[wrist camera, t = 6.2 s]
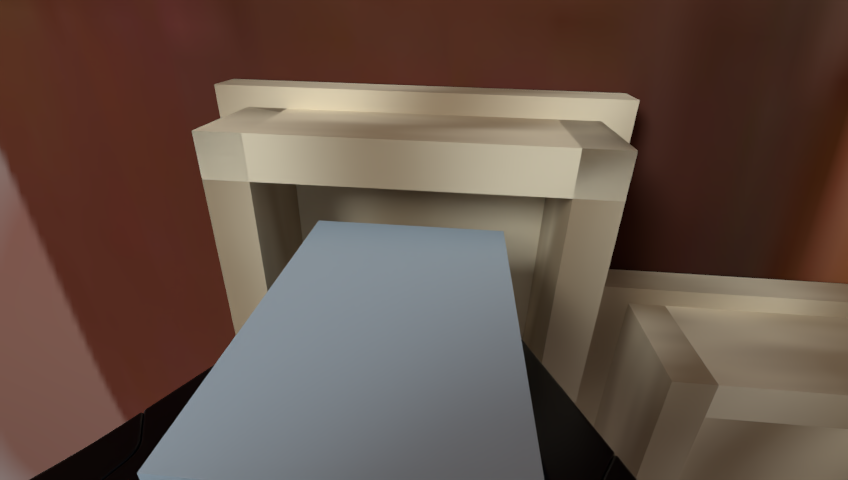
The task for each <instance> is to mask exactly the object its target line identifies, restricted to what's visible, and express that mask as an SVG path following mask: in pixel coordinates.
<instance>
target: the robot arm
mask: <svg viewBox="0 0 848 480" xmlns="http://www.w3.org/2000/svg"><path fill="white" fill-rule="evenodd" d="M521 341H522V347H523V353H524V359H525V365H526V371H527V377H528V383H529V389H530V395H531V401H532V408H533V414H534V420H535V426H536V432H537V438H538V444H539V450H540V456H541V462H542V468H543V474H544V480H637V479H636V478H635V476H634V475H633V474H632V473H631V472H630V470H629V469H628V468H627V467H626V466H625V464H624V463H623V462H622V461H621V459H620V458H619V457H618V456H614V455H615V453H614V451H613V450H612V449H611V447H610V446H609V445H608V444H607V443H606V441H605V440H604V439H603V438H602V436H601V435H600V434H599V433H598V432H597V430H596V429H595V428H594V427H593V425H592V424H591V423H590V422H589V421H588V419H587V418H586V417H585V416H584V414H583V413H582V412H581V411H580V410H579V408H578V407H577V406H576V405H575V403H574V402H573V401H572V400H571V399H570V397H569V396H568V395H567V394H566V392H565V391H564V390H563V389H562V387H561V386H560V385H559V384H558V383H557V381H556V380H555V379H554V378H553V376H552V375H551V374H550V373H549V372H548V370H547V369H546V368H545V367H544V365H543V364H542V363H541V362H540V361H539V359H538V358H537V357H536V356H535V354H534V353H533V352H532V351H531V350H530V348H529V347H528V346H527V345H526V343H525V342H524V341H523V340H522V339H521ZM213 367H214V365H213V366H212V367H210V368H209V369H207V370H206V371H204V372H203V373H201V374H200V375H198V376H196V377H195V378H193V379H192V380H190V381H189V382H187V383H186V384H184V385H183V386H181V387H180V388H178V389H176V390H175V391H173V392H172V393H170V394H169V395H167V396H166V397H164V398H163V399H161V400H160V401H158V402H156V403H155V404H153V405H152V406H150V407H149V408H147V409H146V410H145V411H144V413H139V414H138V415H136V416H135V417H133V418H132V419H130V420H129V421H127V422H125V423H124V424H122V425H121V426H119V427H118V428H116V429H114V430H113V431H111V432H110V433H108V434H107V435H105V436H103V437H102V438H100V439H99V440H97V441H95V442H94V443H92V444H90V445H89V446H87V447H85V448H84V449H82V450H80V451H79V452H77V453H76V454H73V455H72V456H70V457H68V458H67V459H65V460H63V461H61V462H60V463H58V464H56V465H55V466H53V467H51V468H49V469H48V470H46V471H44V472H42V473H40V474H39V475H37V476H35V477H34V478H32V479H30V480H140V479H139V477H138V475H137V472H138V471H139V469H140V468H141V467H142V465H143V464H144V462H145V461H146V460H147V458H148V457H149V455H150V454H151V453H152V451H153V450H154V449H155V447H156V446H157V444H158V443H159V442H160V440H161V439H162V437H163V436H164V435H165V433H166V432H167V431H168V429H169V428H170V426H171V425H172V424H173V422H174V421H175V419H176V418H177V417H178V415H179V414H180V412H181V411H182V410H183V408H184V407H185V406H186V404H187V403H188V401H189V400H190V399H191V397H192V396H193V394H194V393H195V392H196V390H197V389H198V387H199V386H200V385H201V383H202V382H203V381H204V379H205V378H206V376H207V375H208V374H209V372H210V371H211V369H212V368H213Z"/></svg>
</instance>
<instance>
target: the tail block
mask: <svg viewBox="0 0 848 480" xmlns="http://www.w3.org/2000/svg"><path fill="white" fill-rule="evenodd" d="M137 475H138V477H139V479H140V480H544V474H543V468H542V462H541V456H540V450H539V444H538V438H537V432H536V426H535V420H534V414H533V408H532V401H531V395H530V389H529V383H528V377H527V371H526V365H525V359H524V353H523V347H522V341H521V334H520V328H519V322H518V316H517V310H516V304H515V298H514V292H513V286H512V280H511V274H510V268H509V261H508V255H507V249H506V243H505V237H504V231H493V230H475V229H458V228H441V227H424V226H406V225H389V224H372V223H355V222H337V221H320V220H319V221H318V222H317V224H316V225H315V226H314V228H313V229H312V231H311V232H310V233H309V235H308V236H307V238H306V239H305V240H304V242H303V243H302V244H301V246H300V247H299V249H298V250H297V251H296V253H295V254H294V256H293V257H292V258H291V260H290V261H289V263H288V264H287V265H286V267H285V268H284V269H283V271H282V272H281V274H280V275H279V276H278V278H277V279H276V281H275V282H274V283H273V285H272V286H271V287H270V289H269V290H268V292H267V293H266V294H265V296H264V297H263V299H262V300H261V301H260V303H259V304H258V306H257V307H256V308H255V310H254V311H253V312H252V314H251V315H250V317H249V318H248V319H247V321H246V322H245V324H244V325H243V326H242V328H241V329H240V331H239V332H238V333H237V335H236V336H235V337H234V339H233V340H232V342H231V343H230V344H229V346H228V347H227V349H226V350H225V351H224V353H223V354H222V356H221V357H220V358H219V360H218V361H217V362H216V364H215V365H214V367H213V368H212V369H211V371H210V372H209V374H208V375H207V376H206V378H205V379H204V381H203V382H202V383H201V385H200V386H199V387H198V389H197V390H196V392H195V393H194V394H193V396H192V397H191V399H190V400H189V401H188V403H187V404H186V406H185V407H184V408H183V410H182V411H181V412H180V414H179V415H178V417H177V418H176V419H175V421H174V422H173V424H172V425H171V426H170V428H169V429H168V431H167V432H166V433H165V435H164V436H163V437H162V439H161V440H160V442H159V443H158V444H157V446H156V447H155V449H154V450H153V451H152V453H151V454H150V455H149V457H148V458H147V460H146V461H145V462H144V464H143V465H142V467H141V468H140V469H139V471H138V472H137Z"/></svg>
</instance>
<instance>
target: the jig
mask: <svg viewBox="0 0 848 480" xmlns="http://www.w3.org/2000/svg"><path fill="white" fill-rule="evenodd" d="M214 85H215V91H216V96H217V102H218V107H219V113H220V119H218V120H216V121H213V122H211V123H209V124H206V125H204V126H202V127H199V128H197V129H195V130H192V135H193V139H194V144H195V149H196V153H197V158H198V162H199V167H200V172H201V176H202V181H203V186H204V190H205V195H206V199H207V204H208V209H209V213H210V218H211V223H212V227H213V232H214V236H215V241H216V246H217V250H218V255H219V260H220V264H221V269H222V273H223V278H224V283H225V287H226V292H227V297H228V301H229V306H230V310H231V315H232V320H233V324H234V329H235V334H236V335H237V333H238V332H239V331H240V329H241V328H242V326H243V325H244V324H245V322H246V321H247V319H248V318H249V317H250V315H251V314H252V312H253V311H254V310H255V308H256V307H257V306H258V304H259V303H260V301H261V300H262V299H263V297H264V296H265V294H266V293H267V292H268V290H269V289H270V287H271V286H272V285H273V283H274V282H275V281H276V279H277V278H278V276H279V275H280V274H281V272H282V271H283V269H284V268H285V267H286V265H287V264H288V263H289V261H290V260H291V258H292V257H293V256H294V254H295V253H296V251H297V250H298V249H299V247H300V246H301V244H302V243H303V242H304V240H305V239H306V238H307V236H308V235H309V233H310V232H311V231H312V229H313V228H314V226H315V225H316V224H317V222H318V221H319V220H320V221H337V222H355V223H372V224H389V225H406V226H424V227H441V228H458V229H475V230H493V231H504V237H505V243H506V249H507V255H508V261H509V268H510V274H511V280H512V286H513V292H514V298H515V304H516V310H517V316H518V322H519V328H520V334H521V339H522V340H523V341H524V342H525V343H526V345H527V346H528V347H529V348H530V350H531V351H532V352H533V353H534V354H535V356H536V357H537V358H538V359H539V361H540V362H541V363H542V364H543V365H544V367H545V368H546V369H547V370H548V372H549V373H550V374H551V375H552V376H553V378H554V379H555V380H556V381H557V383H558V384H559V385H560V386H561V387H562V389H563V390H564V391H565V392H566V394H567V395H568V396H569V397H570V399H571V400H572V401H573V402H574V403H575V405H576V406H577V407H578V408H579V410H580V411H581V412H582V413H583V414H584V416H585V417H586V418H587V419H588V421H589V422H590V423H591V424H592V425H593V427H594V428H595V429H596V430H597V432H598V433H599V434H600V435H601V436H602V438H603V439H604V440H605V441H606V443H607V444H608V445H609V446H610V447H611V449H612V450H613V451H614V453H615V455H614V456H618V457H619V458H620V459H621V461H622V462H623V463H624V464H625V466H626V467H627V468H628V469H629V470H630V472H631V473H632V474H633V475H634V476H635V478H636V479H637V480H848V284H840V283H824V282H808V281H792V280H776V279H760V278H744V277H728V276H712V275H696V274H680V273H664V272H648V271H632V270H616V269H609V266H610V262H611V258H612V254H613V250H614V246H615V242H616V238H617V234H618V230H619V226H620V222H621V218H622V214H623V210H624V206H625V202H626V198H627V193H628V189H629V185H630V181H631V177H632V173H633V169H634V165H635V161H636V157H637V153H638V150H636V149H635V148H634V147H633V146H632V145H630V144H629V143H630V139H631V135H632V131H633V127H634V122H635V118H636V114H637V110H638V105H639V101H640V100H638V99H636V98H634V97H632V96H630V95H628V94H626V93H603V92H576V91H549V90H521V89H494V88H467V87H439V86H412V85H385V84H357V83H330V82H303V81H276V80H248V79H232V80H228V81H225V82H221V83H218V84H214Z"/></svg>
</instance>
